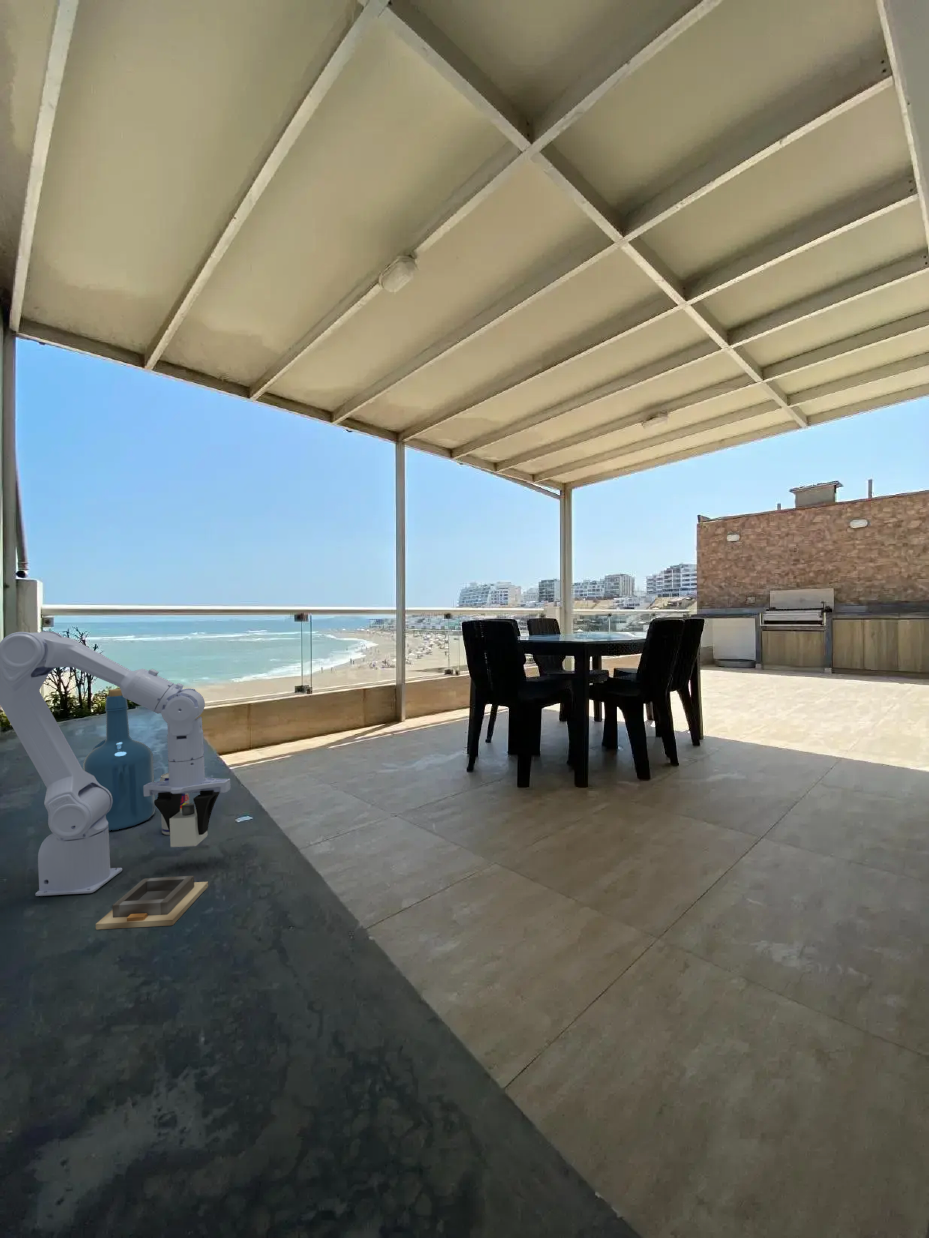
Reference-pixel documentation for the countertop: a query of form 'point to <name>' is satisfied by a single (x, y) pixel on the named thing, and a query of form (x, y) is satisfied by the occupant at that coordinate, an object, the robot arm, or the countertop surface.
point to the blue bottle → (122, 767)
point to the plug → (185, 828)
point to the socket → (153, 903)
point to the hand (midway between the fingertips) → (189, 833)
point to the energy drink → (183, 801)
